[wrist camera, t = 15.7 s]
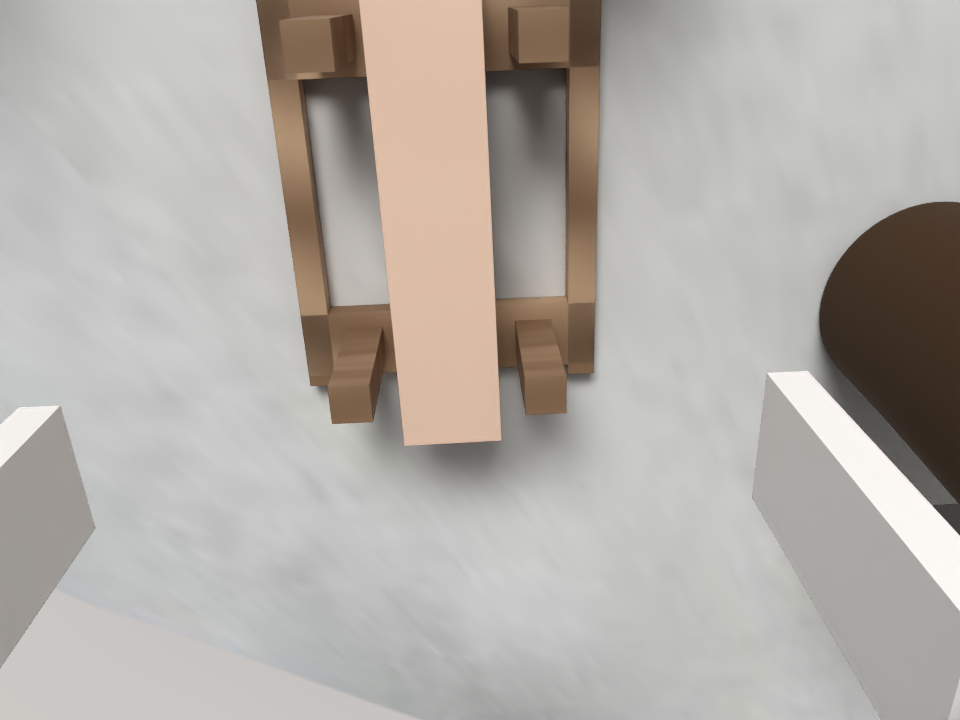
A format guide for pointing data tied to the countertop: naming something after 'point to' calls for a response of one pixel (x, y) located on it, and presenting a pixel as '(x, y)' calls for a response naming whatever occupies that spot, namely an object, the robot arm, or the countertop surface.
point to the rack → (519, 321)
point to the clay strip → (435, 213)
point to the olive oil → (904, 329)
